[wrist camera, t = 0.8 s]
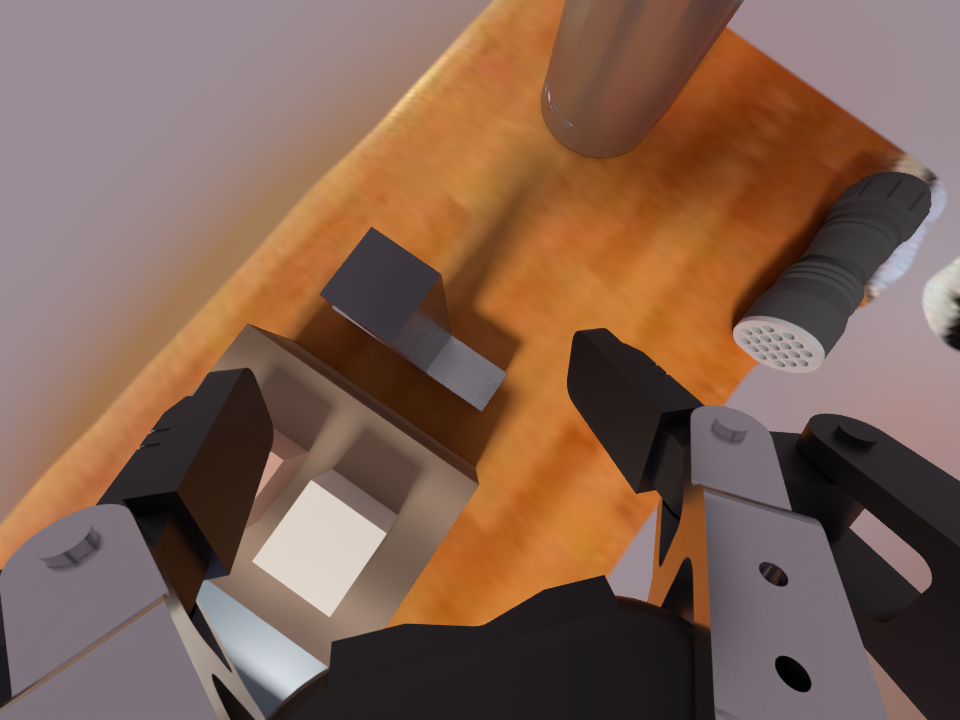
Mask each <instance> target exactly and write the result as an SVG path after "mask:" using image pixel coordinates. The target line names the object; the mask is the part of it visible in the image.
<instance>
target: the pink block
mask: <svg viewBox="0 0 960 720" xmlns="http://www.w3.org/2000/svg"><path fill="white" fill-rule="evenodd" d="M273 431H274V438H273V445H272V448H271V451H270V454H269V457H268V460H267V463H266V466H265V469H264V472H263V475H262V479H261V482H260V485H259V488H258V491H257V494H256V497H255V500H254V503H253V506H252V509H251V512H250V515H249V518H248V521H247V524H246V527H245V529H246V528H248V527H250V526H251V525H253V524H255V523H257V522H258V521H259V520H260V519H261V517H262V516H263V514H264V513H265V512H266V510H267V509H268V508H269V506H270V505H271V504H272V502H273V501H274V499H275V498H276V497H277V495H278V494H279V493H280V491H281V490H282V489H283V487H284V486H285V484H286V483H287V482H288V480H289V479H290V478H291V476H292V475H293V473H294V472H295V471H296V469H297V468H298V467H299V465H300V464H301V463H302V461H303V460H304V458H305V457H306V456H307V454H308V453H309V452H308V451H306V450H305V449H303V448H302V447H301V446H299V445H298V444H296V443H295V442H293V441H292V440H291V439H289V438H288V437H286V436H285V435H284V434H282V433H281V432H279V431H278V430H276V429H275V428H274V427H273Z"/></svg>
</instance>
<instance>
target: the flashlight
mask: <svg viewBox="0 0 960 720" xmlns="http://www.w3.org/2000/svg"><path fill="white" fill-rule="evenodd" d="M930 208H931V191H930V189H929V187H928V186H927V184H926V183H925V182H923V181H922V180H921V179H919V178H918V177H915V176H913V175H910V174H906V173H900V172H884V173H878V174H874V175H871V176H868V177H866V178H864V179H862V180H860V181H859V182H857V183H855V184H853V185H851V186H849V187H848V188H847V189H846V190H845V191H844V192H843V193H842V194H841V196H840V197H839V198H838V199H837V201H836V202H835V203H834V205H833V206H832V207H831V208H830V210H829V211H828V212H827V214H826V216H825V218H824V220H825V223H824V224H823V225H822V228H821V229H820V230H819V231H818V233H817V234H816V235H815V236H814V238H813V241H812V244H811V245H810V247H809V248H808V249H807V250H806V252H805V253H804V254H803V256H802V257H801V258H800V259H799V261H798V262H797V263H796V264H794V265H791V266H789V267H788V268H786V269H785V270H784V271H783V272H782V273H781V275H780V276H779V277H778V278H777V280H776V281H775V282H774V283H773V285H772V287H771V288H770V289H769V290H767V291H766V292H764V293H763V294H762V295H760V296H759V297H758V298H757V300H756V301H755V302H754V303H753V305H752V306H751V307H750V309H749V310H748V311H747V312H746V314H745V315H744V316H743V318H742V319H741V320H740V321H739V323H738V324H737V325H736V326H735V328H734V330H733V337H734V340H735V342H736V343H737V345H738V346H740V347H741V348H742V349H743V350H744V351H746V352H747V353H748V354H749V355H750V356H752V357H753V358H754V359H755V360H756V361H758V362H760V363H762V364H764V365H767V366H769V367H772V368H774V369H777V370H781V371H785V372H792V373H807V372H811V371H814V370H815V369H817V368H818V367H819V366H820V364H821V363H822V362H823V360H824V359H825V358H826V356H827V355H828V353H829V352H830V351H831V349H832V348H833V347H834V345H835V344H836V342H837V341H838V340H839V338H840V337H841V336H842V334H843V333H844V331H845V328H846V324H847V321H848V317H850V316H851V315H852V314H853V313H854V311H855V309H857V307H858V306H859V304H860V303H861V302H862V300H863V298H864V286H865V285H866V283H867V282H868V281H869V279H870V278H871V277H872V275H873V274H874V273H875V271H876V270H877V269H878V267H879V266H880V265H881V264H883V263H884V262H885V261H886V260H887V259H888V258H889V257H890V255H891V254H892V253H893V251H894V250H895V249H896V248H897V247H898V246H899V245H901V244H902V243H903V242H905V241H907V240H908V239H909V238H910V237H911V236H912V235H913V234H914V233H915V231H916V230H917V229H918V227H919V226H920V225H921V223H922V222H923V220H924V219H925V218H926V216H927V215H928V214H929V212H930V210H929V209H930Z"/></svg>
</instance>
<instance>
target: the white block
mask: <svg viewBox="0 0 960 720" xmlns="http://www.w3.org/2000/svg"><path fill="white" fill-rule="evenodd" d="M397 516H398V515H397V514H395V513H394V512H393V511H391V510H390V509H388V508H387V507H386V506H384V505H383V504H381V503H380V502H378V501H377V500H376V499H374V498H373V497H371V496H370V495H369V494H367V493H366V492H364V491H363V490H361V489H360V488H359V487H357V486H356V485H354V484H353V483H352V482H350V481H349V480H347V479H346V478H344V477H343V476H342V475H340V474H339V473H337V472H336V471H335V470H333V469H332V470H330V471H328V472H326V473H324V474H322V475H320V476H318V477H316V478H314V479H312V480H311V481H310V482H309V483H308V485H307V486H306V488H305V489H304V490H303V492H302V493H301V494H300V496H299V497H298V499H297V500H296V501H295V503H294V504H293V506H292V507H291V508H290V510H289V511H288V512H287V514H286V515H285V517H284V518H283V519H282V521H281V522H280V524H279V525H278V526H277V528H276V529H275V530H274V532H273V533H272V535H271V536H270V537H269V539H268V540H267V541H266V543H265V544H264V546H263V547H262V548H261V550H260V551H259V553H258V554H257V555H256V557H255V558H254V559H253V561H252V562H253V563H255V564H256V565H258V566H259V567H260V568H262V569H263V570H265V571H266V572H267V573H269V574H270V575H271V576H273V577H274V578H276V579H277V580H278V581H280V582H281V583H283V584H284V585H285V586H287V587H288V588H290V589H291V590H292V591H294V592H295V593H297V594H298V595H299V596H301V597H302V598H303V599H305V600H306V601H308V602H309V603H310V604H312V605H313V606H315V607H316V608H317V609H319V610H320V611H322V612H323V613H324V614H326V615H327V616H328V617H330V616H331V615H332V613H333V612H334V611H335V609H336V608H337V606H338V605H339V603H340V602H341V600H342V599H343V597H344V596H345V594H346V593H347V591H348V590H349V589H350V587H351V586H352V584H353V583H354V581H355V580H356V578H357V577H358V575H359V574H360V572H361V571H362V570H363V568H364V567H365V565H366V564H367V562H368V561H369V559H370V558H371V556H372V555H373V553H374V552H375V550H376V549H377V548H378V546H379V545H380V543H381V542H382V540H383V539H384V537H385V536H386V534H387V533H388V531H389V529H390V528H391V526H392V524H393V522H394V521H395V519H396V517H397Z"/></svg>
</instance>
